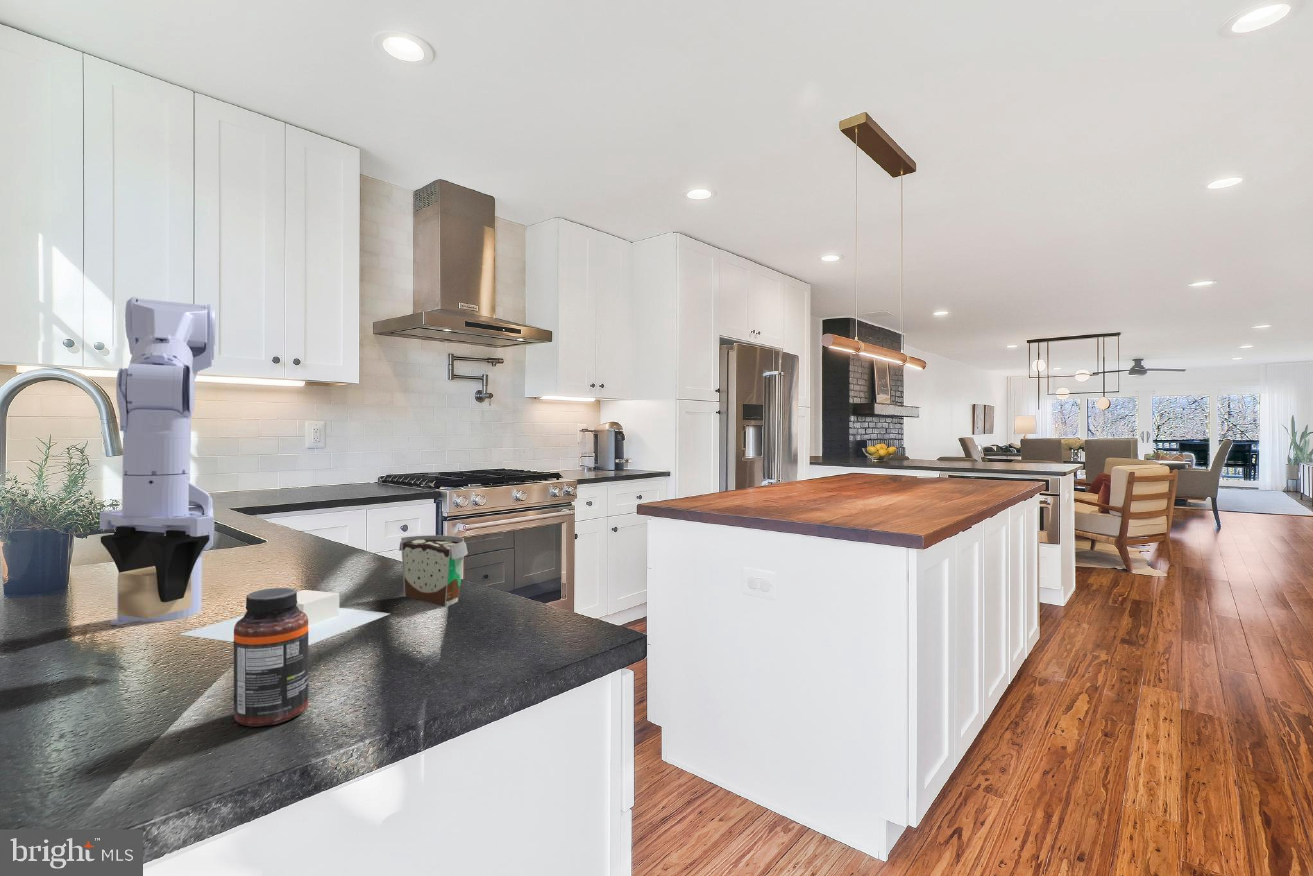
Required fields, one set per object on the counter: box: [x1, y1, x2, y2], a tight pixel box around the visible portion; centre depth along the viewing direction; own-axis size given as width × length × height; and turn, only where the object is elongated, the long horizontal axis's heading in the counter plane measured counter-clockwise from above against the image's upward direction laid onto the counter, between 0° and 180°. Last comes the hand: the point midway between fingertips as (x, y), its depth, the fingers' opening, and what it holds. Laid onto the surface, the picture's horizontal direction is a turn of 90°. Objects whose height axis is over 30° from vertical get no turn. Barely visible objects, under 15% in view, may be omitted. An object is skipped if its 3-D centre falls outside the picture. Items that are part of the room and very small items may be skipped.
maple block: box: [117, 566, 191, 619], centre depth 70 cm, size 4×4×4 cm
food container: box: [398, 534, 469, 607], centre depth 98 cm, size 12×6×10 cm, turn 58°
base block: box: [296, 589, 340, 626], centre depth 85 cm, size 6×6×3 cm
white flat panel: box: [178, 607, 392, 646], centre depth 83 cm, size 18×16×1 cm
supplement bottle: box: [232, 587, 309, 728], centre depth 59 cm, size 6×6×11 cm
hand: (155, 597), depth 70 cm, fingers closed on maple block, 4 cm apart
